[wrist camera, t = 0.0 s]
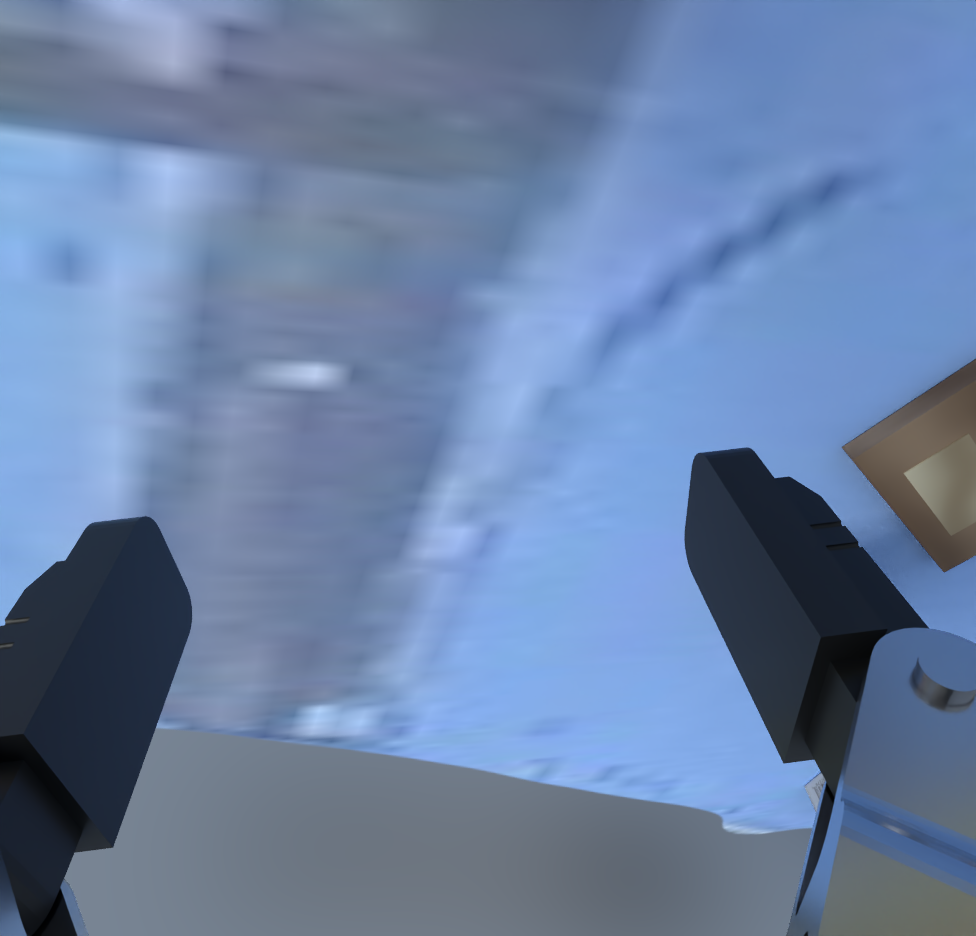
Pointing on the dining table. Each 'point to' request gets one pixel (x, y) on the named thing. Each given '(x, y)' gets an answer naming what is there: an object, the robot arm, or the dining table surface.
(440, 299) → the dining table surface
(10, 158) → the dining table surface
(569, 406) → the dining table surface
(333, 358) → the dining table surface
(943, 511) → the domino board
